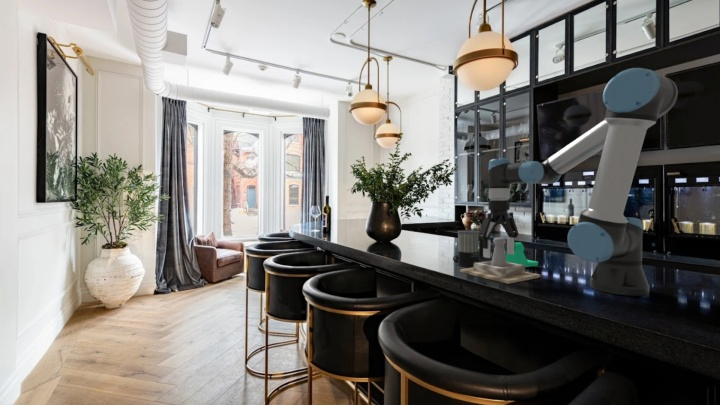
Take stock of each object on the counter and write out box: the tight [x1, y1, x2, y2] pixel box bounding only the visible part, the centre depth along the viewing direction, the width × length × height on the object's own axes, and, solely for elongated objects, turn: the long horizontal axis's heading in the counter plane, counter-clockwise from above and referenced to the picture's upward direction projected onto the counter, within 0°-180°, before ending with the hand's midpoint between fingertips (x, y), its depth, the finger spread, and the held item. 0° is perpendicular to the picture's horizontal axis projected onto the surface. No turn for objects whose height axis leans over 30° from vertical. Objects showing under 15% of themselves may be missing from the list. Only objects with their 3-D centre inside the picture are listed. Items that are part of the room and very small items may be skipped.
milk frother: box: [452, 230, 487, 268], centre depth 157 cm, size 14×16×15 cm
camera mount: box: [505, 242, 539, 268], centre depth 151 cm, size 12×8×10 cm, turn 23°
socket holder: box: [459, 260, 541, 285], centre depth 134 cm, size 22×18×4 cm
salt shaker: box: [491, 236, 507, 267], centre depth 134 cm, size 6×6×13 cm
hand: (498, 255), depth 134 cm, fingers open, 13 cm apart
